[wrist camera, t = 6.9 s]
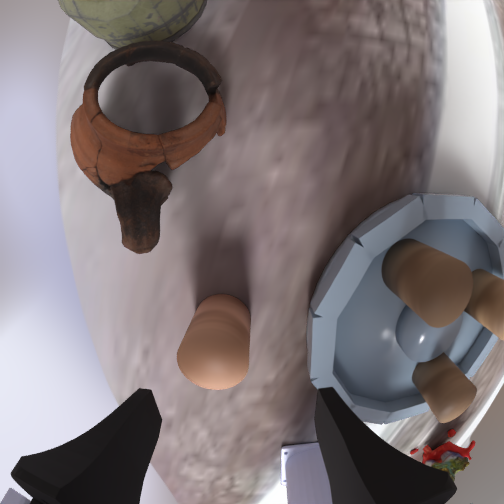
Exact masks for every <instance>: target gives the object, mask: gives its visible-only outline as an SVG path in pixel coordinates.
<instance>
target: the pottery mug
mask: <svg viewBox="0 0 504 504" xmlns="http://www.w3.org/2000/svg"><path fill="white" fill-rule="evenodd" d="M143 61H159V62H166V63H173V64H175V65H177V66H179V67H181V68H183V69H185V70H187V71H189V72H191V73H192V74H194V75H195V76H196V77H197V78H198V79H199V80H200V81H201V82H202V84H203V85H204V87H205V90H206V92H207V94H208V96H209V103H207V105H206V106H205V108H204V110H203V111H202V113H201V114H200V115H199V116H198V117H197V118H196V119H195V120H194V121H193V122H191V123H190V124H188V125H186V126H184V127H182V128H179V129H177V130H174V131H170V132H166V133H162V134H159V135H155V134H142V133H137V132H132V131H129V130H126V129H123V128H121V127H119V126H117V125H116V124H114V123H113V122H111V121H110V120H109V119H108V118H107V117H106V116H105V115H104V114H103V112H102V110H101V108H100V106H99V103H98V90H99V87H100V85H101V83H102V82H103V81H104V79H105V78H106V77H107V76H108V75H109V74H110V73H111V72H112V71H113V70H115V69H116V68H118V67H120V66H122V65H124V64H127V66H131V65H134V64H136V63H138V62H143ZM220 83H221V77H220V75H219V74H218V72H217V71H216V69H215V68H214V67H213V66H212V65H211V64H210V62H209V61H208V60H207V59H206V58H204V57H203V56H202V55H200V54H199V53H197V52H196V51H193V50H191V49H189V48H184V47H183V46H182V45H179V44H175V43H173V42H164V41H141V42H137V43H131V44H129V45H127V46H123V47H121V48H119V49H117V50H115V51H113V52H110V53H109V54H108V55H107V56H105V57H104V58H102V59H101V60H100V61H99V62H98V63H97V64H96V65H95V66H94V68H93V69H92V71H91V72H90V74H89V76H88V78H87V80H86V82H85V85H84V93H83V104H82V105H80V107H79V108H78V109H77V110H76V111H75V113H74V114H73V117H72V122H71V134H70V138H71V146H72V149H73V154H74V157H75V160H76V162H77V164H78V166H79V168H80V169H81V170H82V171H83V172H84V174H85V175H86V176H87V177H88V178H89V179H90V180H91V181H92V182H93V183H94V184H95V185H96V186H97V187H98V188H100V189H101V190H102V191H103V192H105V193H106V194H108V195H109V196H111V197H112V198H113V199H114V200H115V205H116V211H117V215H118V218H119V221H120V224H121V232H122V244H123V245H124V247H126V248H128V249H129V250H131V251H133V252H135V253H137V254H142V253H148V252H150V251H151V250H152V249H153V248H154V247H155V246H156V245H157V243H158V241H159V237H160V209H161V205H162V204H163V203H164V202H165V201H166V200H167V199H168V195H170V192H171V190H172V184H171V182H170V181H169V180H168V178H167V177H166V176H165V175H164V174H163V173H160V172H158V171H151V170H152V169H153V168H155V167H156V166H157V165H158V164H160V163H162V162H166V164H167V165H168V167H169V168H170V169H171V170H173V169H176V168H177V167H179V166H180V165H182V164H183V163H185V162H186V161H188V160H189V159H190V158H191V157H193V156H194V155H196V154H197V153H199V152H200V151H201V150H202V148H203V147H204V146H205V145H206V144H207V143H208V142H209V141H210V140H211V139H212V138H213V137H214V136H215V135H216V133H217V134H218V136H222V135H223V134H224V133H225V126H226V111H225V107H224V103H223V102H222V97H221V95H220V93H219V91H218V89H217V88H218V87H219V85H220Z"/></svg>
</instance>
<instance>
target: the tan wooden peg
mask: <svg viewBox="0 0 504 504" xmlns="http://www.w3.org/2000/svg"><path fill="white" fill-rule="evenodd" d="M381 272H382V278H383V281H384V283H385V285H386V286H387V287H388V288H389V289H390V290H391V291H392V292H393V293H394V294H395V295H396V296H398V297H399V298H400V299H401V300H402V301H403V302H404V303H405V304H406V305H407V306H409V307H410V308H411V309H412V310H413V311H414V312H415V313H416V314H417V315H418V316H419V317H420V318H421V319H423V320H424V321H425V322H426V323H427V324H428V325H429V326H431V327H434V328H441V327H445V326H447V325H449V324H451V323H452V322H454V321H455V320H456V319H457V318H458V317H459V316H460V315H461V314H462V313H463V311H464V310H465V308H466V306H467V304H468V302H469V300H470V297H471V294H472V289H473V276H472V272H471V270H470V268H469V266H468V265H467V264H466V263H465V262H463V261H461V260H459V259H457V258H454V257H452V256H450V255H448V254H446V253H444V252H442V251H439V250H437V249H435V248H433V247H430V246H428V245H426V244H424V243H421V242H419V241H417V240H415V239H409V238H408V239H402V240H400V241H398V242H396V243H395V244H394V245H392V246H391V247H390V249H389V250H388V251H387V253H386V255H385V257H384V259H383V263H382V269H381Z"/></svg>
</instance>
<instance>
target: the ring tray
mask: <svg viewBox="0 0 504 504" xmlns="http://www.w3.org/2000/svg"><path fill="white" fill-rule="evenodd" d="M408 238H409V239H415V240H417V241H419V242H421V243H424V244H426V245H428V246H430V247H433V248H435V249H437V250H439V251H442V252H444V253H446V254H448V255H450V256H452V257H454V258H457V259H459V260H461V261H463V262H465V263H466V264H467V265H468V266H469V268H470V270H471V272H472V271H474V270H476V269H483V270H485V271H487V272H489V273H491V274H493V275H495V276H497V277H499V278H501V279H503V280H504V228H503V227H502V226H501V224H500V223H499V222H498V221H497V220H496V219H495V218H494V216H493V215H492V214H491V213H490V212H489V211H488V210H487V209H486V208H485V206H484V205H483V204H482V203H481V202H480V201H479V200H478V199H477V198H474V197H471V196H465V195H450V194H435V193H424V194H422V193H412V195H407V196H405V197H403V198H401V199H398V200H396V201H393V202H391V203H389V204H387V205H385V206H384V207H382V208H380V209H379V210H377V211H375V212H374V213H373V214H371V215H370V216H369V217H368V218H366V219H365V220H364V221H362V222H361V223H360V224H359V225H358V226H357V227H356V228H355V229H354V230H353V231H352V232H351V233H350V234H349V235H348V236H347V237H346V239H345V240H344V241H343V242H342V244H341V245H340V246H339V247H338V248H337V250H336V251H335V253H334V254H333V256H332V257H331V259H330V260H329V262H328V264H327V265H326V267H325V269H324V271H323V273H322V275H321V277H320V279H319V281H318V283H317V285H316V288H315V291H314V294H313V297H312V299H311V303H310V308H309V312H308V317H307V327H306V341H307V350H308V360H307V368H308V371H309V375H310V379H311V382H312V383H313V385H314V386H315V387H316V388H317V390H318V388H326V387H333V388H334V389H335V390H336V391H337V393H338V394H339V395H340V397H341V398H342V399H343V400H344V402H345V403H346V404H347V405H348V406H349V408H350V409H351V410H352V411H353V412H354V413H355V414H356V415H357V416H358V417H359V419H360V420H361V421H364V422H370V423H375V424H381V425H382V424H383V423H384V424H388V423H391V422H395V421H399V420H402V419H405V418H409V417H412V416H415V415H418V414H421V413H424V412H427V411H429V408H430V407H429V406H428V404H427V403H426V401H425V400H424V398H423V397H422V395H421V394H420V392H419V391H418V389H417V388H416V386H415V385H414V383H413V382H412V374H413V371H414V369H415V367H416V366H417V364H418V363H419V362H426V361H430V360H432V359H434V358H436V357H438V356H439V355H441V354H442V353H443V352H444V353H445V354H446V355H447V356H448V357H449V358H450V359H451V360H452V361H453V362H454V364H455V365H456V366H457V367H458V368H459V369H460V370H461V371H462V372H463V373H464V374H465V376H466V377H467V378H468V379H469V380H470V376H471V377H473V376H474V374H475V373H476V371H477V370H478V369H479V367H480V366H481V364H482V363H483V361H484V360H485V359H486V357H487V356H488V354H489V352H490V351H491V349H492V348H493V346H494V345H495V343H496V341H497V340H498V337H497V336H496V335H495V334H493V333H492V332H491V331H490V330H488V329H487V328H486V327H484V326H483V325H482V324H481V323H479V322H478V321H477V320H475V319H474V318H473V317H471V316H470V315H469V314H467V313H466V312H465V311H463V313H462V314H461V315H460V316H459V317H458V318H457V319H456V320H455V321H454V322H452V323H451V324H449V325H447V326H445V327H441V328H434V327H431V326H429V325H428V324H427V323H426V322H425V321H424V320H423V319H421V318H420V317H419V316H418V315H417V314H416V313H415V312H414V311H413V310H412V309H411V308H410V307H409V306H407V305H406V304H405V303H404V302H403V301H402V300H401V299H400V298H399V297H398V296H396V295H395V294H394V293H393V292H392V291H391V290H390V289H389V288H388V287H387V286H386V285H385V283H384V281H383V278H382V272H381V269H382V263H383V259H384V257H385V255H386V253H387V251H388V250H389V249H390V247H391V246H392V245H394V244H395V243H396V242H398V241H400V240H402V239H408Z"/></svg>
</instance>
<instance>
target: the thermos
mask: <svg viewBox="0 0 504 504" xmlns="http://www.w3.org/2000/svg"><path fill="white" fill-rule="evenodd" d="M58 1H59V4H60V7H61V9H62V10H63V11H64V12H65V13H66V14H67V15H68V16H69V17H71V18H72V19H73V20H75V21H76V22H77V23H79V24H80V25H81V26H83V27H84V28H85V29H86V30H88V31H89V32H90V33H92V34H93V35H94V36H95V37H97V38H101V39H104V40H105V41H106V42H107V43H108V44H109V45H110V46H111V47H112V48H114V49H119V48H121V47H123V46H127V45H129V44H131V43H137V42H141V41H164V42H171V41H173V40H175V39H177V38H178V37H179V36H181V35H182V34H183V33H185V32H186V31H188V30H189V29H190V28H191V27H192V26H193V25H194V24H195V22H196V21H197V20H198V19H199V18H200V17H201V15H202V13H203V10H204V8H205V6H206V0H58Z"/></svg>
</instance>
